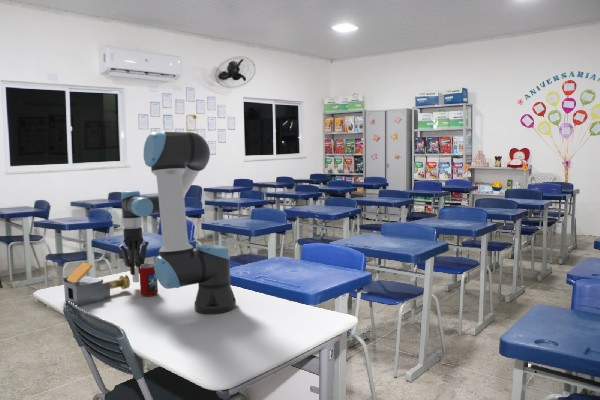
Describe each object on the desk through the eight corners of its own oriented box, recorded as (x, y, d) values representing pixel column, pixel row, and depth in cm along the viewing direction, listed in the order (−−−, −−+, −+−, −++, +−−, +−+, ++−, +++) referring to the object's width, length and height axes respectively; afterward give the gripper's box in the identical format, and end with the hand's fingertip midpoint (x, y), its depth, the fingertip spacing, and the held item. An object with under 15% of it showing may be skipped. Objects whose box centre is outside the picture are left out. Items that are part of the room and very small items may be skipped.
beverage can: (155, 296, 195) (153, 267, 194) (138, 297, 195) (136, 267, 194) (160, 292, 202) (158, 263, 201) (144, 292, 202) (142, 264, 201)
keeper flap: (93, 266, 190) (91, 264, 190) (76, 284, 186) (74, 282, 185) (84, 263, 196) (82, 261, 195) (67, 280, 191) (66, 279, 191)
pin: (123, 286, 207) (123, 273, 207) (130, 289, 203) (129, 276, 203) (86, 295, 196) (85, 281, 195) (92, 298, 192) (91, 284, 191)
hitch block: (113, 298, 195) (111, 274, 194) (77, 307, 184) (75, 282, 183) (99, 292, 203) (98, 270, 202) (64, 301, 193) (62, 277, 192)
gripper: (142, 224, 213) (145, 277, 215) (113, 228, 204) (117, 283, 206) (151, 226, 208) (154, 279, 210) (122, 230, 198) (125, 286, 201)
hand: (135, 281), depth 208 cm, fingers closed
